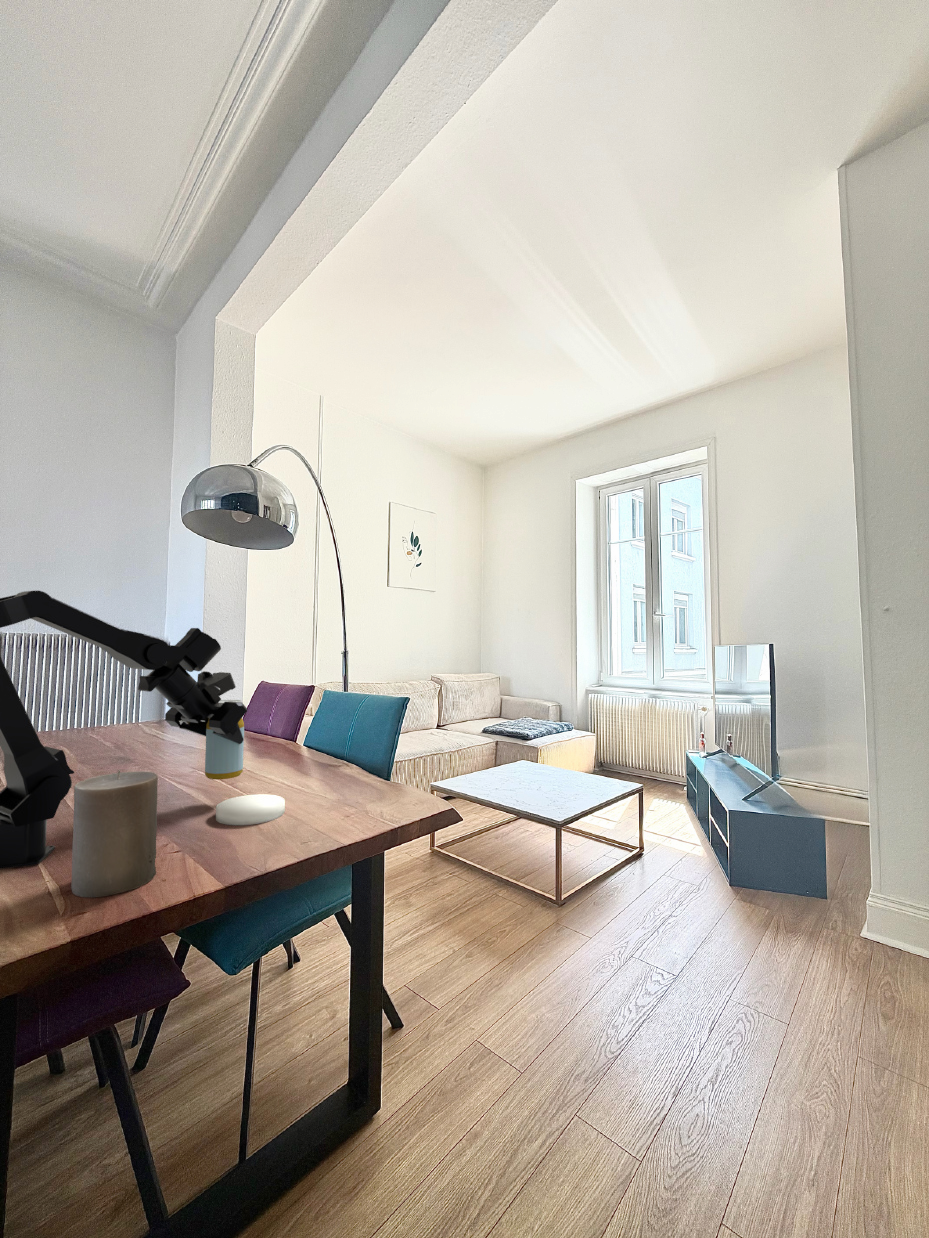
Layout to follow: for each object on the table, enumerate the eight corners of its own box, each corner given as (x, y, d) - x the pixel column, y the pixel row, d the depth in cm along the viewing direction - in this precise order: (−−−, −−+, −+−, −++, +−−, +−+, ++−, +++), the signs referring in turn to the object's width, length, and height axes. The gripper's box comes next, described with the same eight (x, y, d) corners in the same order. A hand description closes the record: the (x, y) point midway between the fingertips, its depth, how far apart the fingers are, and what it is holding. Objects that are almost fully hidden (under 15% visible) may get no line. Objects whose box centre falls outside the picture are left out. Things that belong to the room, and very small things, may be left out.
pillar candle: (172, 870, 75) (175, 764, 76) (109, 903, 65) (113, 780, 66) (118, 863, 77) (121, 760, 78) (50, 893, 68) (54, 775, 69)
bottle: (249, 772, 110) (251, 699, 110) (229, 780, 103) (231, 703, 103) (218, 770, 111) (220, 699, 111) (196, 779, 104) (199, 702, 104)
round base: (284, 821, 96) (284, 810, 96) (211, 828, 92) (212, 816, 92) (284, 802, 107) (284, 792, 107) (219, 807, 103) (219, 797, 103)
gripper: (240, 660, 100) (285, 713, 109) (182, 657, 109) (227, 706, 118) (199, 705, 92) (251, 758, 101) (141, 698, 102) (192, 747, 111)
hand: (230, 740), depth 108 cm, fingers closed on bottle, 7 cm apart
